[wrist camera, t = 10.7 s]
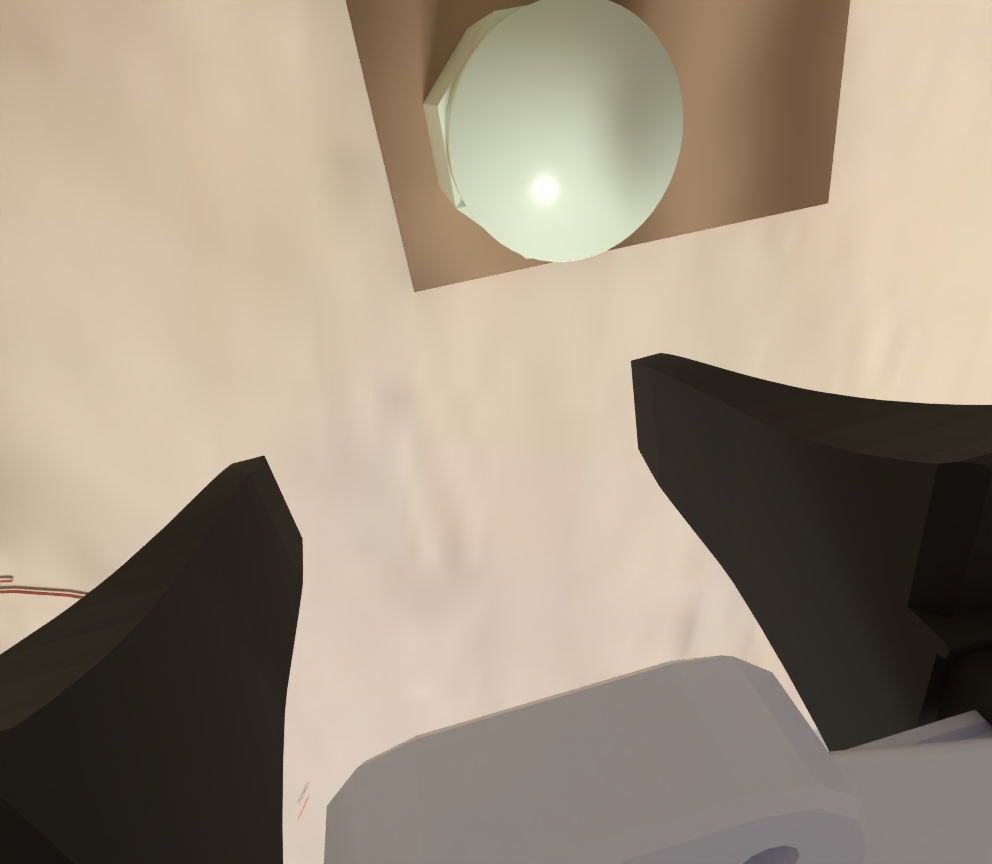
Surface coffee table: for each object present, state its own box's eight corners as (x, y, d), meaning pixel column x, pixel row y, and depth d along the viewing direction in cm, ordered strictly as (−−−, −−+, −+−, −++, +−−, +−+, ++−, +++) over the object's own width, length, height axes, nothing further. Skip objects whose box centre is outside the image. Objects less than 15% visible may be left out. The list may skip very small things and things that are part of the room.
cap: (410, 38, 16) (426, 18, 12) (600, 4, 16) (683, -27, 12) (449, 239, 19) (473, 282, 14) (612, 205, 19) (683, 238, 15)
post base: (846, -196, 16) (975, -274, 13) (809, 198, 21) (895, 219, 18) (319, -112, 15) (305, -172, 12) (412, 283, 20) (422, 322, 17)
